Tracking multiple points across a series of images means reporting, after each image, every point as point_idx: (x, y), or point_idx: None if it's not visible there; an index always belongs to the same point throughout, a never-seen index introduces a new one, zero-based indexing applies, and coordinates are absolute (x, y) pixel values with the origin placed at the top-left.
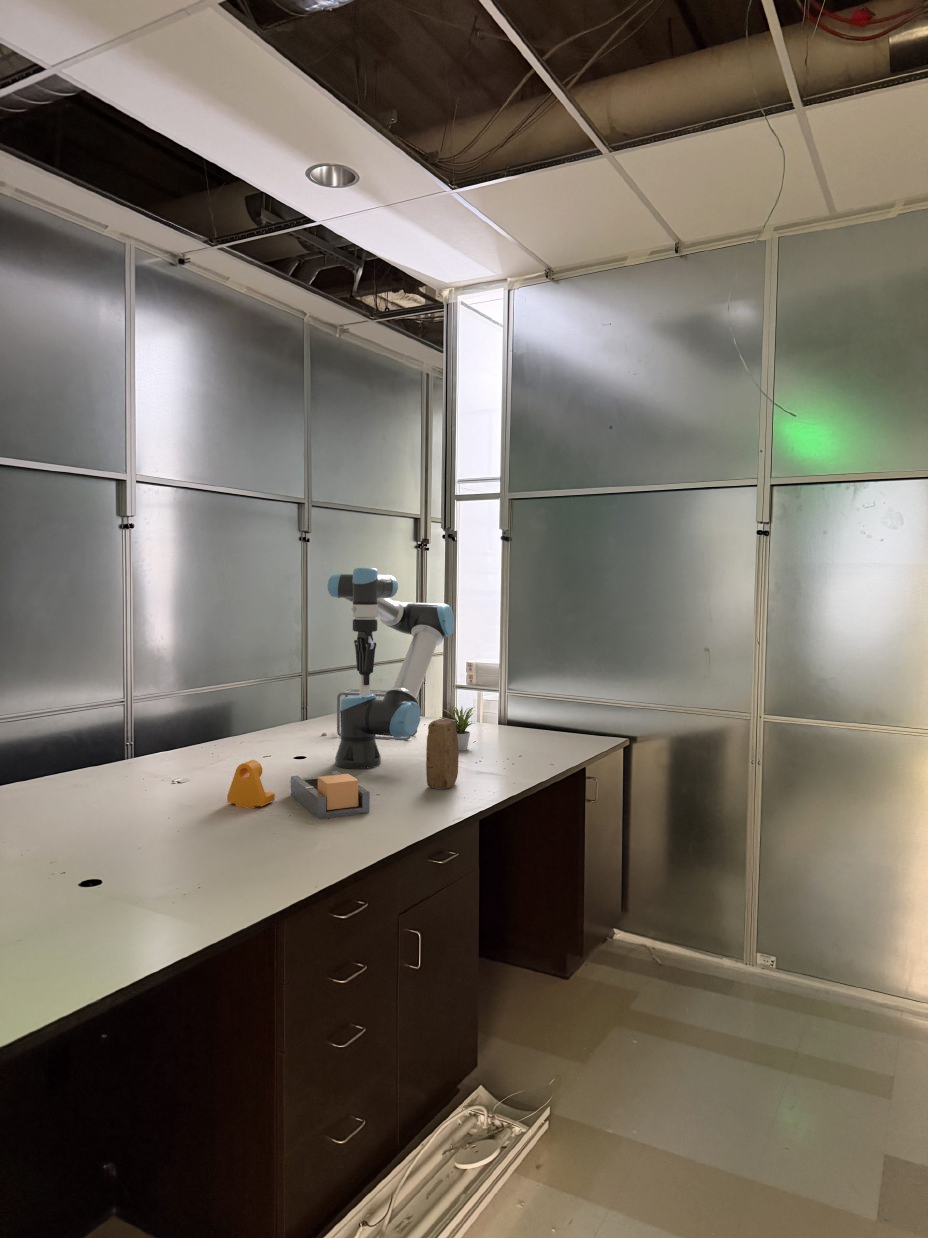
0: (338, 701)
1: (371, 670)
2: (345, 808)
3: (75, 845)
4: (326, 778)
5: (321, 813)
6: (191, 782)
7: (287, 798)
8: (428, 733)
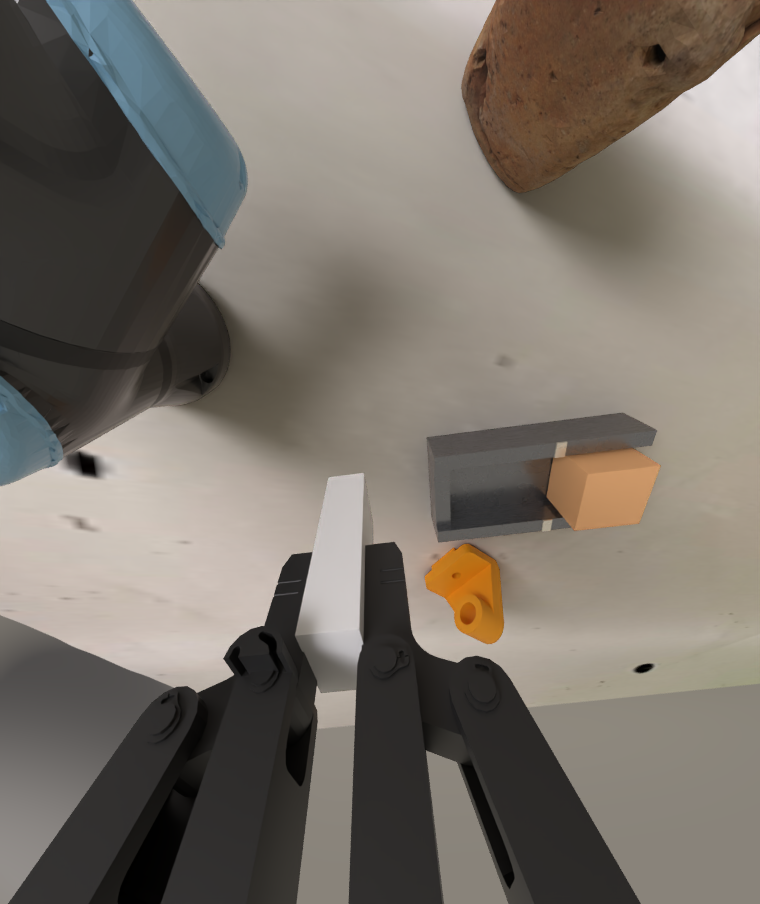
0: None
1: (506, 711)
2: None
3: (529, 683)
4: (598, 518)
5: None
6: None
7: None
8: (651, 102)
